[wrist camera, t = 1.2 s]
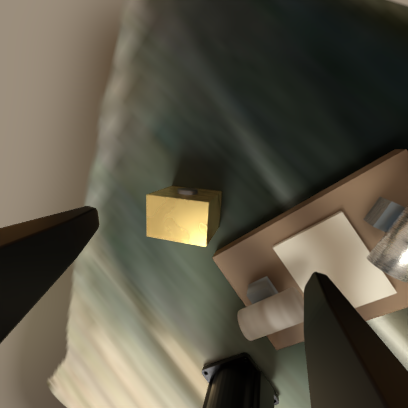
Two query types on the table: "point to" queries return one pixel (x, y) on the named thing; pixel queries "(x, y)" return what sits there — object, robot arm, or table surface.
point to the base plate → (317, 254)
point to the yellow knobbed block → (183, 214)
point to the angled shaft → (390, 238)
